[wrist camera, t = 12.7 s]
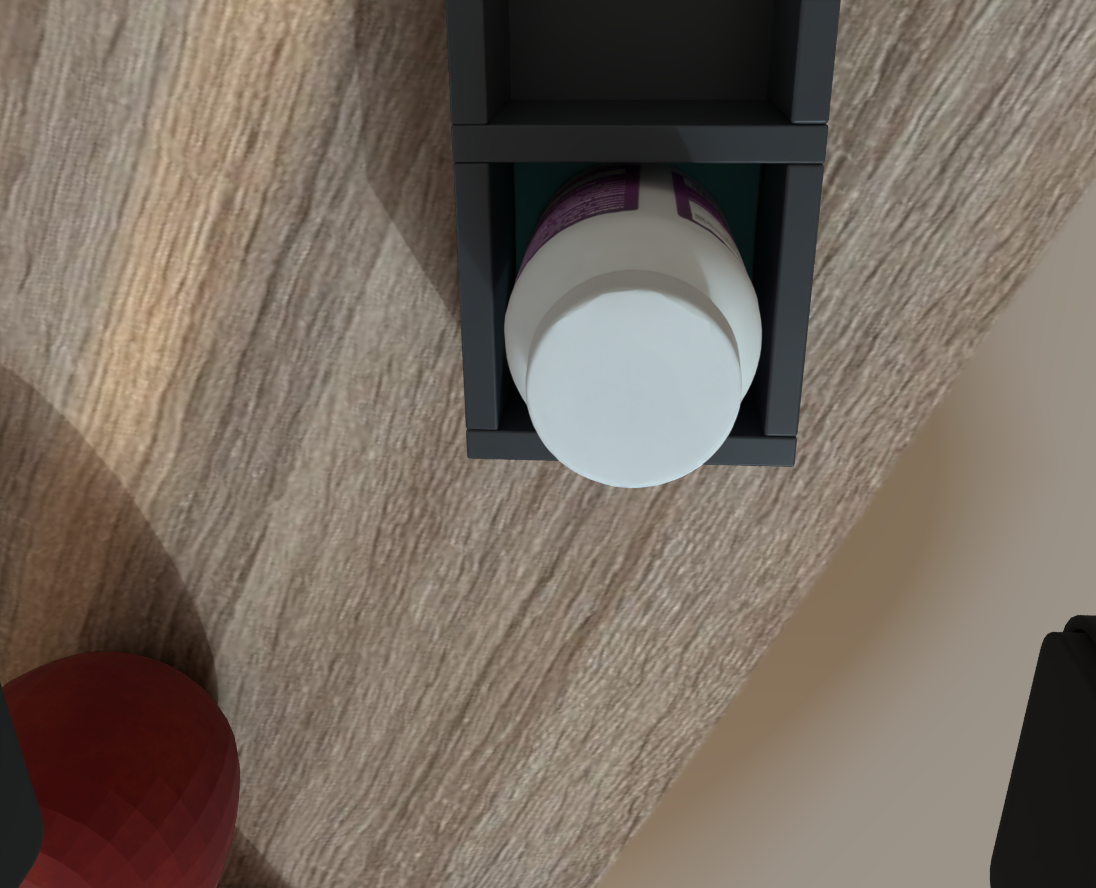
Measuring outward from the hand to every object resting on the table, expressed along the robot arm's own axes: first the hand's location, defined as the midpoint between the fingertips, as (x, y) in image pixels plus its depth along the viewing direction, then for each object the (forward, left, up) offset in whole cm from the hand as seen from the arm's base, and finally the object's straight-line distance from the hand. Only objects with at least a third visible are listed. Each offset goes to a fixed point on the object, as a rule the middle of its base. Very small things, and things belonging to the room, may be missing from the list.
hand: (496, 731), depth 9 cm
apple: (+17, -15, -21) cm, 31 cm away
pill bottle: (+1, +1, -20) cm, 20 cm away
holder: (-3, +1, -21) cm, 21 cm away
